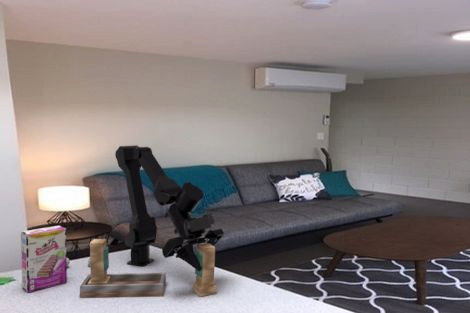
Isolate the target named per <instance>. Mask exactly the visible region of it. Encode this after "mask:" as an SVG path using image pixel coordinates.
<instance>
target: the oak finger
mask: <svg viewBox="0 0 470 313" xmlns="http://www.w3.org/2000/svg"><path fill="white" fill-rule="evenodd" d="M195 255H196V257H197V259H198V261H199V263H200V266H201V268H202V270H201V271H198V270H197V269H195V268H194V274H195V275H196V276H195V278H196V279H195V282H192V291H193V292H194V293H196V294H197V296H199V297H205V296H210V295H211V296H212V295H217V294H218V293H217V292H218V290H217V289H218V286H217V285H216V284H215V267H214V264H215V260H216V247H215V245H214V246H213V245H211V244H209V243H207V244H197V246H196V252H195Z"/></svg>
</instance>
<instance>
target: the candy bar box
mask: <svg viewBox="0 0 470 313" xmlns="http://www.w3.org/2000/svg"><path fill="white" fill-rule="evenodd" d="M20 245H21V246H20V248H21V250H20V252H21V253H20V255H21V257H20V258H21V285H22V286H21V288H22V289H23V290H25V291H26V293H32V292H35V291H40V290H43V289H47V288H51V287H54V286H59V285H63V284H66V283H67V282H68V272H67V270H68V268H67V267H68V266H67V258H68V257H67V228H65V227H63V226H62V225H54V226H46V227H42V228H35V229H27V230H22V231H20Z"/></svg>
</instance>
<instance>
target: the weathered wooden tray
mask: <svg viewBox="0 0 470 313" xmlns="http://www.w3.org/2000/svg"><path fill="white" fill-rule="evenodd" d="M91 241H92V242H91ZM91 241H90V242H91V243H89V244H90V245H89V258H90V267H89V268H90V273H88V275H87V276H86V277H85V279H84V280H83V282H82V283H81V284H80V285H79V299H91V298H93V299H96V298H100V299H101V298H134V297H135V298H140V297H141V298H144V297H145V298H146V297H148V298H149V297H163V296H164V292H165V288H166V283H167V278H166V277H167V273H166V272H144V273H143V272H141V273H140V272H139V273H137V272H136V273H131V272H130V273H108V269H109V267H110V264H109V262H110V261H109V260H110V258H109V256H110V255H109V254H110V253H109V246H107V238H94V239H92V240H91Z"/></svg>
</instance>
